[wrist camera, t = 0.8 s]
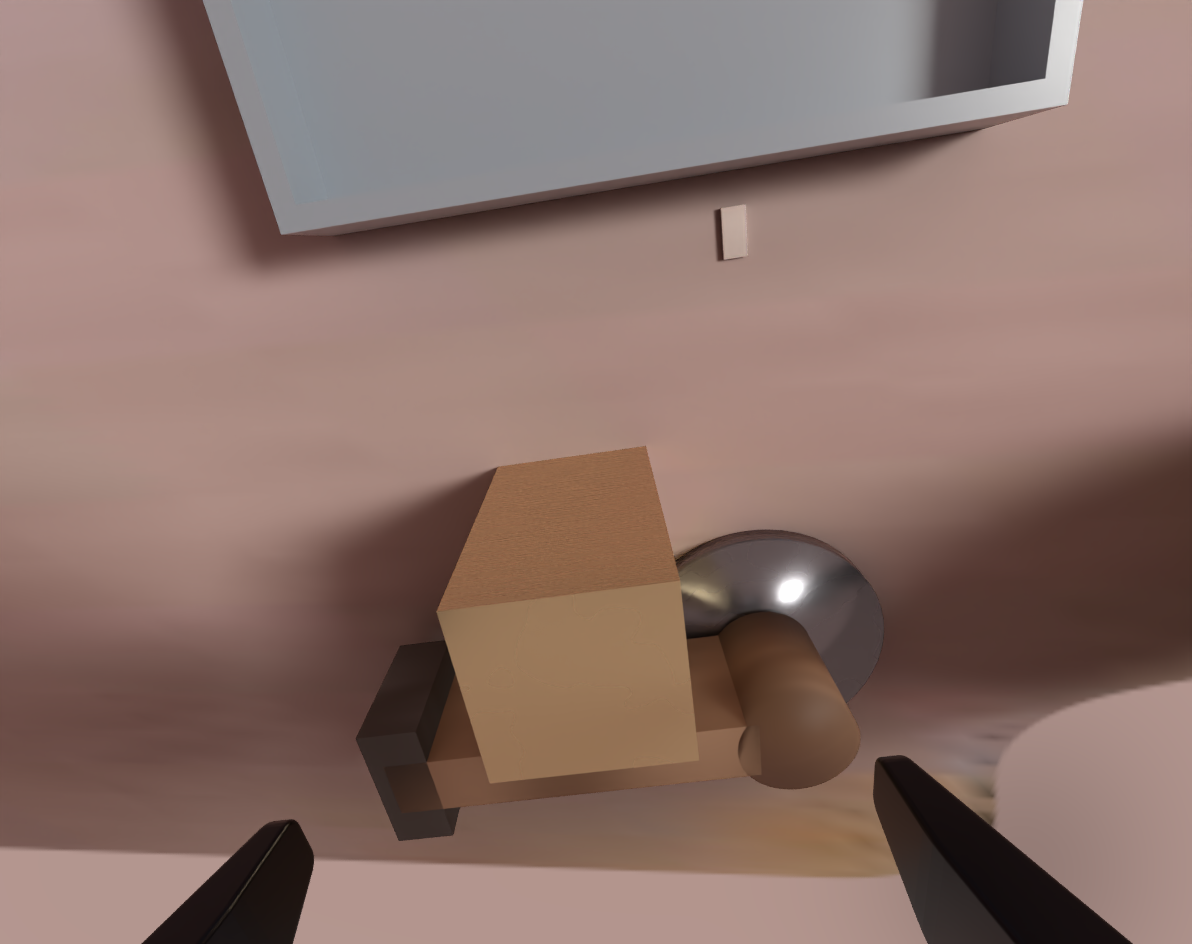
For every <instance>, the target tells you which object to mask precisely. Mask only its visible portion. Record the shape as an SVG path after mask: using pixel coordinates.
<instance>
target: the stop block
mask: <svg viewBox="0 0 1192 944" xmlns="http://www.w3.org/2000/svg"><path fill="white" fill-rule="evenodd" d="M436 612H437V615H438V619H439V622H440V625H441V628H442V631H443V635H444V638H445V641H446V644H447V647H448V651H449V654H450V657H451V660H452V664H453V667H454V670H455V673H456V676H457V680H458V683H459V686H460V689H461V693H462V696H463V699H464V702H465V705H466V709H467V712H468V715H469V718H470V722H471V725H472V728H473V731H474V734H475V738H476V741H477V744H478V747H479V750H480V754H481V757H482V760H483V763H484V767H485V770H486V773H487V776H488V779H489V783H499V782H508V781H517V780H526V779H536V778H545V777H554V776H563V775H572V774H581V773H590V772H599V771H609V770H618V769H627V768H636V767H645V766H654V765H663V764H672V763H682V762H691V761H699V754H698V744H697V735H696V726H695V716H694V707H693V697H692V688H691V678H690V669H689V660H688V650H687V641H686V631H685V622H684V612H683V603H682V594H681V584H680V578H679V574H678V570H677V567H676V563H675V559H674V555H673V551H672V547H671V543H670V539H669V535H668V531H667V527H666V523H665V519H664V516H663V512H662V508H661V504H660V500H659V496H658V492H657V488H656V484H655V480H654V476H653V472H652V468H651V465H650V461H649V457H648V453H647V449H646V446H643V447H636V448H629V449H622V450H615V451H608V452H600V453H593V454H586V455H579V456H572V457H565V458H557V459H550V460H543V461H536V462H529V463H522V464H515V465H507V466H500V467H498V468H497V470H496V473H495V475H494V477H493V480H492V482H491V484H490V487H489V489H488V492H487V494H486V496H485V499H484V501H483V503H482V506H481V508H480V510H479V513H478V515H477V517H476V520H475V522H474V524H473V527H472V529H471V532H470V534H469V536H468V539H467V541H466V543H465V546H464V548H463V550H462V553H461V555H460V557H459V560H458V562H457V564H456V567H455V569H454V572H453V574H452V576H451V579H450V581H449V583H448V586H447V588H446V590H445V593H444V595H443V597H442V600H441V602H440V604H439V607H438V609H437V611H436Z"/></svg>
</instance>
